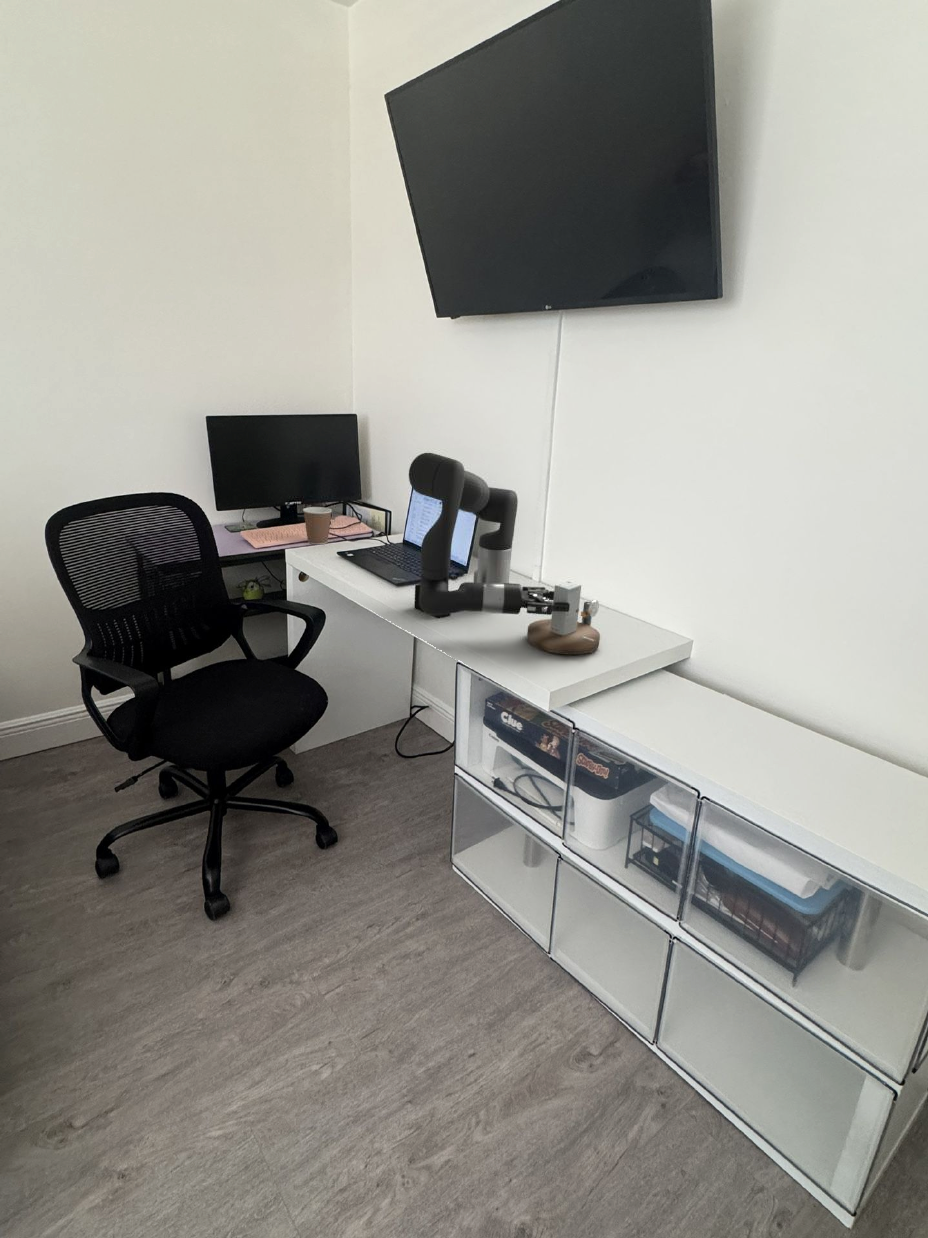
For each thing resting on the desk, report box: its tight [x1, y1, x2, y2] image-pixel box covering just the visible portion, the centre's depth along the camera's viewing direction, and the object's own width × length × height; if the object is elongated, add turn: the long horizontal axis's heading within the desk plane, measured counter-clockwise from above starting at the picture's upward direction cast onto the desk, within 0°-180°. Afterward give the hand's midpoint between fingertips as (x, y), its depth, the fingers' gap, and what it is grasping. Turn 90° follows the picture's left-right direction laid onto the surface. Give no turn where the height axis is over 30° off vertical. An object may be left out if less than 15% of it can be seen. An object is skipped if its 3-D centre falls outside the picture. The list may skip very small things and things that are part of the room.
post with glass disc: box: [580, 599, 600, 627], centre depth 183 cm, size 5×3×9 cm, turn 141°
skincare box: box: [550, 581, 582, 636], centre depth 173 cm, size 6×4×12 cm
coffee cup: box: [302, 506, 333, 545], centre depth 255 cm, size 10×10×12 cm
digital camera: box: [413, 583, 452, 619], centre depth 191 cm, size 10×5×7 cm, turn 45°
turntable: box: [526, 618, 601, 655], centre depth 175 cm, size 18×18×2 cm
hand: (566, 601), depth 172 cm, fingers open, 8 cm apart
